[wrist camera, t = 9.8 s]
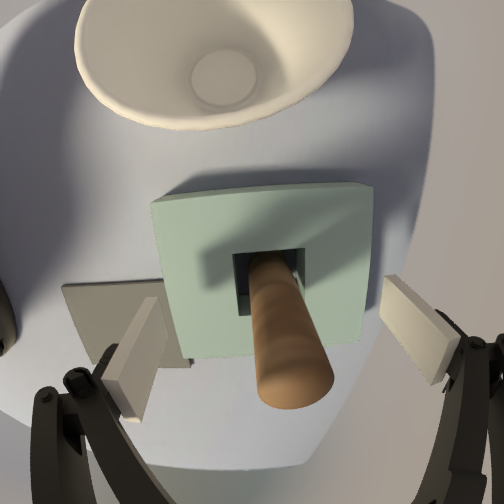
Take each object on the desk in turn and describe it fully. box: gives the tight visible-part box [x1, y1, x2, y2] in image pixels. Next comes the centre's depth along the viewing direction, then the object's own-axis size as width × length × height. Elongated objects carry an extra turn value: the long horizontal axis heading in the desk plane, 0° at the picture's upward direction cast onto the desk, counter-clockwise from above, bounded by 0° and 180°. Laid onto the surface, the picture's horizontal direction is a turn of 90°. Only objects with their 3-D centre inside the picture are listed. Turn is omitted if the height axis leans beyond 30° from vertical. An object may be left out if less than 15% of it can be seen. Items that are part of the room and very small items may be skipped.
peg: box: [248, 250, 334, 409], centre depth 15 cm, size 3×3×12 cm
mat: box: [61, 280, 191, 368], centre depth 22 cm, size 11×9×1 cm
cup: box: [74, 0, 354, 131], centre depth 11 cm, size 10×10×11 cm
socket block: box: [150, 182, 374, 359], centre depth 19 cm, size 14×12×3 cm
